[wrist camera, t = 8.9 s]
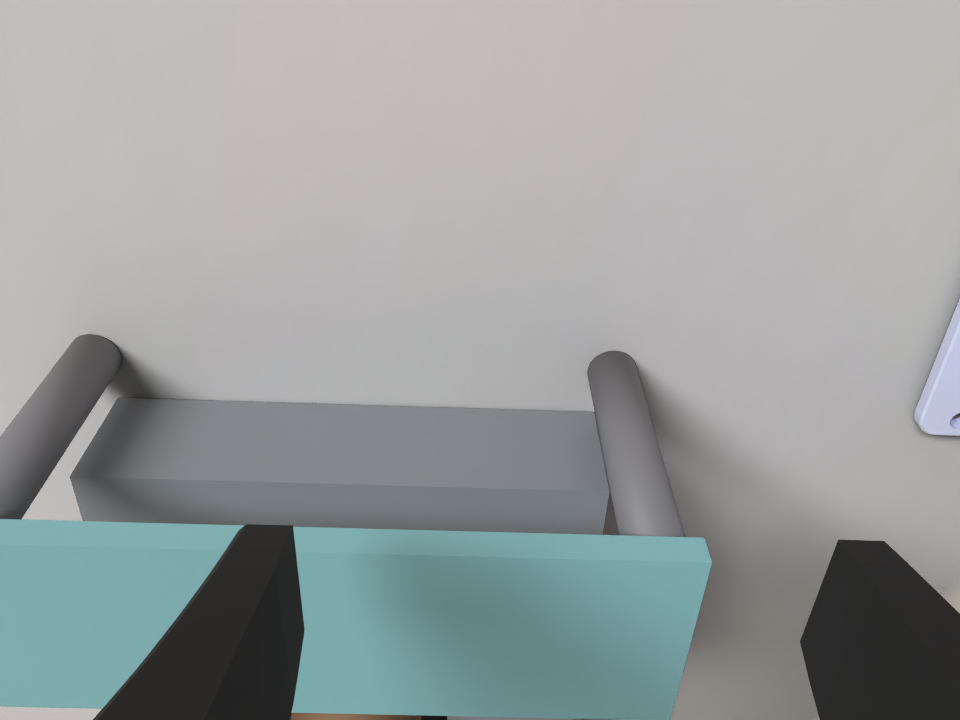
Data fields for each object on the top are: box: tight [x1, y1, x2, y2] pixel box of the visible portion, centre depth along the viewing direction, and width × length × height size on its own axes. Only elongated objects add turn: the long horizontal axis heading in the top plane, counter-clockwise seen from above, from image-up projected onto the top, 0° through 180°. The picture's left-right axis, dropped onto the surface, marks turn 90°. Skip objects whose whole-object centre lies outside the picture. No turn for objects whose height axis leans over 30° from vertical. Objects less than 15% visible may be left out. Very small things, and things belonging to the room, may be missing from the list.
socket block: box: [70, 398, 610, 720], centre depth 23 cm, size 12×12×3 cm
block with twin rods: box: [0, 334, 712, 720], centre depth 19 cm, size 14×4×7 cm, turn 88°
